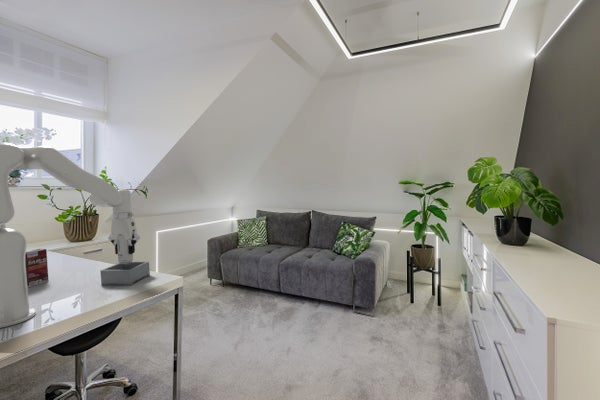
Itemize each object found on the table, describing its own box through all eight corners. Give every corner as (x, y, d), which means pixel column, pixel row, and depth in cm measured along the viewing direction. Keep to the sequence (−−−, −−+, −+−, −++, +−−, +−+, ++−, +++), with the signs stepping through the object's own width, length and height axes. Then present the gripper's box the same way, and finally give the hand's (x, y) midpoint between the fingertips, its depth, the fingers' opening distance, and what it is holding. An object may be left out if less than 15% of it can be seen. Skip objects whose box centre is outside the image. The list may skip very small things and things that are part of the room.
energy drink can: (116, 262, 132) (114, 231, 131) (130, 260, 136) (128, 229, 135) (120, 265, 128) (118, 233, 127) (135, 262, 132) (133, 231, 131)
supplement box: (29, 287, 125) (26, 253, 124) (20, 287, 126) (17, 253, 125) (49, 281, 134) (47, 248, 133) (41, 280, 135) (39, 248, 134)
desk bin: (130, 285, 125) (129, 270, 124) (101, 285, 126) (100, 270, 126) (149, 275, 139) (148, 261, 138) (123, 275, 140) (122, 261, 140)
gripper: (145, 214, 133) (147, 251, 135) (111, 215, 135) (114, 251, 136) (134, 216, 126) (137, 255, 127) (99, 217, 128) (102, 255, 129)
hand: (125, 253), depth 132 cm, fingers closed on energy drink can, 6 cm apart
